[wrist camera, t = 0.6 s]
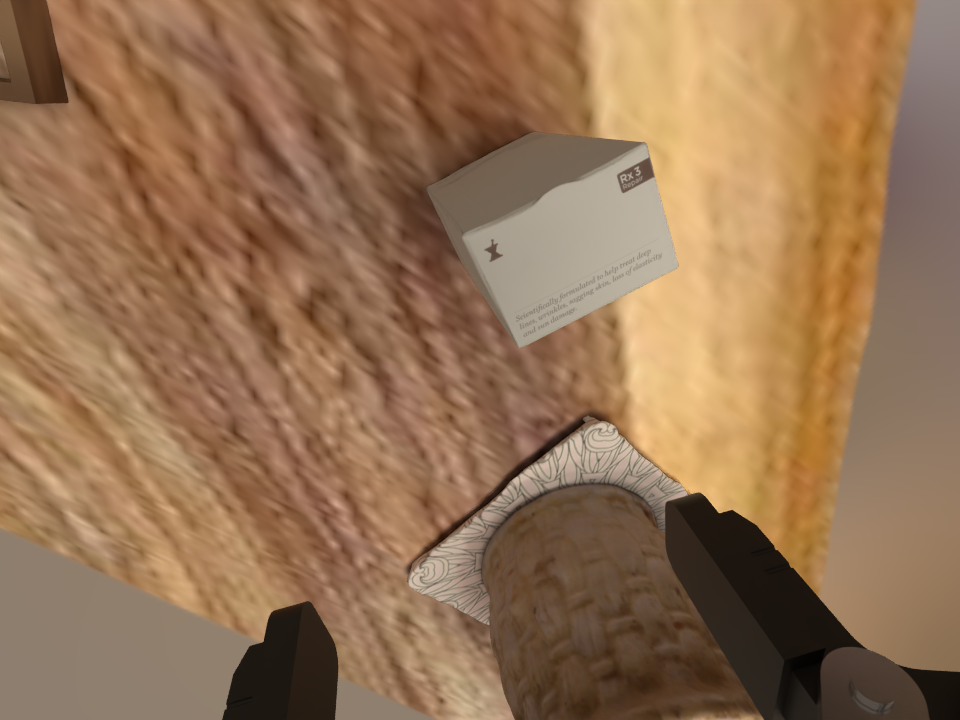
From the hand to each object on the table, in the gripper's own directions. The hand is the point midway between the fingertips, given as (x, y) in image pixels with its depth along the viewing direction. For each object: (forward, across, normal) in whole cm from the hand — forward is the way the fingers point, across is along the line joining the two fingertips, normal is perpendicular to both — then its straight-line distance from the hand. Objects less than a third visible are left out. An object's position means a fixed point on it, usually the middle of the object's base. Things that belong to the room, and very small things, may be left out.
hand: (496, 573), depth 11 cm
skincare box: (+27, -6, -2) cm, 27 cm away
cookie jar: (+26, -7, +33) cm, 43 cm away
